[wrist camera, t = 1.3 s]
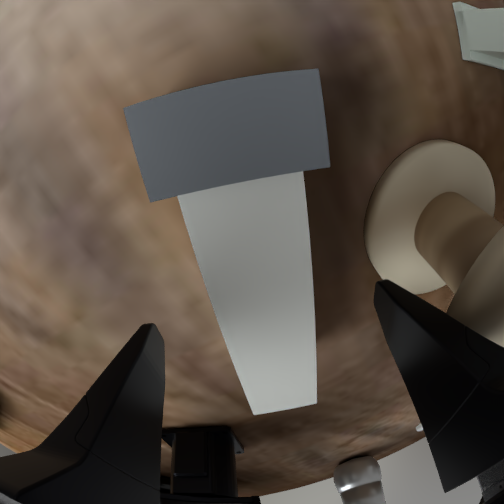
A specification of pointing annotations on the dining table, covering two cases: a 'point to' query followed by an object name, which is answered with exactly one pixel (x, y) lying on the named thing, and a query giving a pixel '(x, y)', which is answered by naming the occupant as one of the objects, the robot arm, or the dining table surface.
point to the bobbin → (441, 231)
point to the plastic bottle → (359, 481)
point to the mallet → (246, 215)
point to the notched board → (481, 34)
